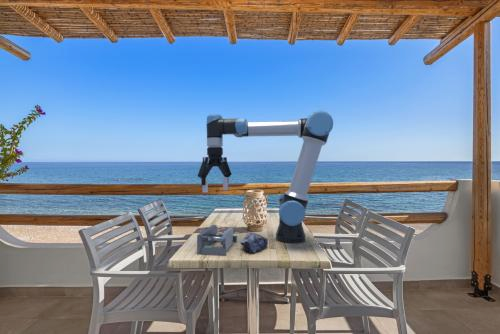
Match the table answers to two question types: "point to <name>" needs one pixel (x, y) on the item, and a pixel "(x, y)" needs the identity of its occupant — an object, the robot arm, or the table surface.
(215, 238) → the gauge plunger
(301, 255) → the table surface
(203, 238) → the frame
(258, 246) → the rock
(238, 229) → the table surface
